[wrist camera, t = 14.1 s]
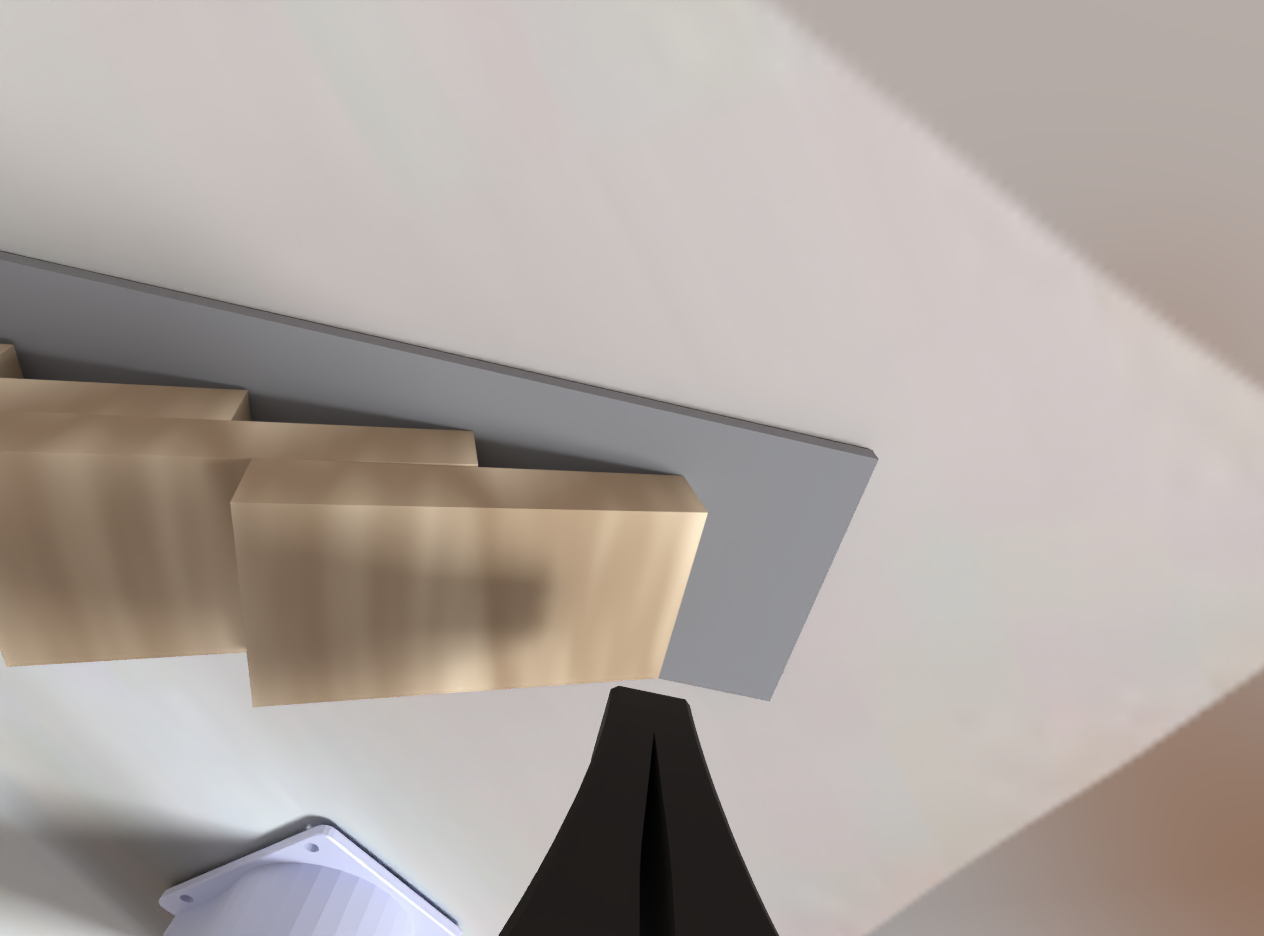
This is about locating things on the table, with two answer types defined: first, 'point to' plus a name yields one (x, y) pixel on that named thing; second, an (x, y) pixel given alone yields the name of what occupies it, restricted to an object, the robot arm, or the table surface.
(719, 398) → the table surface
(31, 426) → the maple domino
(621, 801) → the robot arm
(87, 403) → the maple domino
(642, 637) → the maple domino
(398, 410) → the mat
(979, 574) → the table surface
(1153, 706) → the table surface
